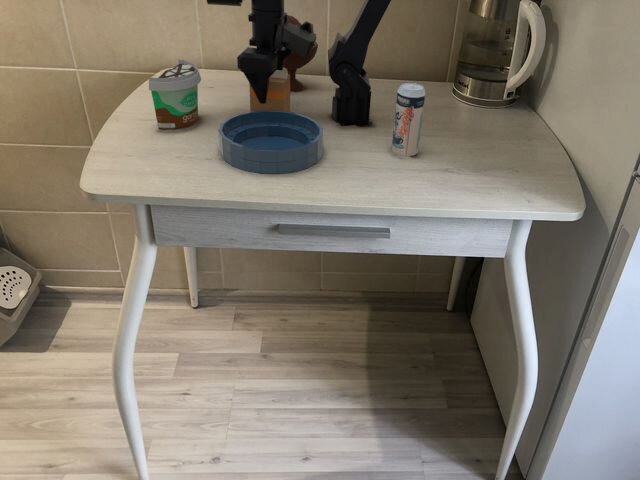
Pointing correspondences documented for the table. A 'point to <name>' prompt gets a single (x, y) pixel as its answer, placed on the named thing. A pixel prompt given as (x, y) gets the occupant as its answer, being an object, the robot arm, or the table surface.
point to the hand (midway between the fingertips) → (269, 95)
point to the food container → (176, 96)
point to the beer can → (408, 119)
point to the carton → (274, 94)
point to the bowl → (271, 141)
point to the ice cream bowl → (297, 62)
